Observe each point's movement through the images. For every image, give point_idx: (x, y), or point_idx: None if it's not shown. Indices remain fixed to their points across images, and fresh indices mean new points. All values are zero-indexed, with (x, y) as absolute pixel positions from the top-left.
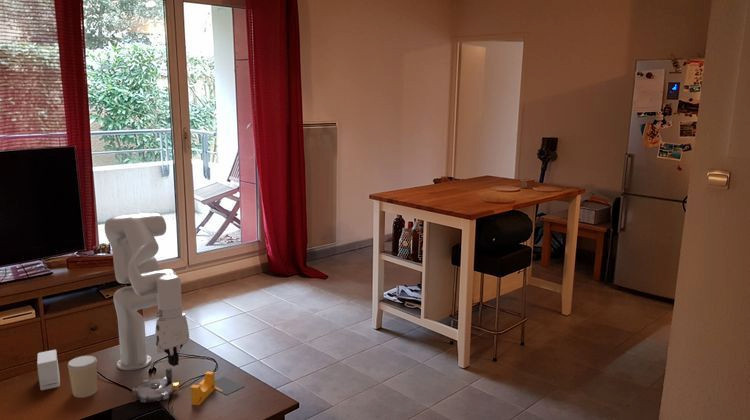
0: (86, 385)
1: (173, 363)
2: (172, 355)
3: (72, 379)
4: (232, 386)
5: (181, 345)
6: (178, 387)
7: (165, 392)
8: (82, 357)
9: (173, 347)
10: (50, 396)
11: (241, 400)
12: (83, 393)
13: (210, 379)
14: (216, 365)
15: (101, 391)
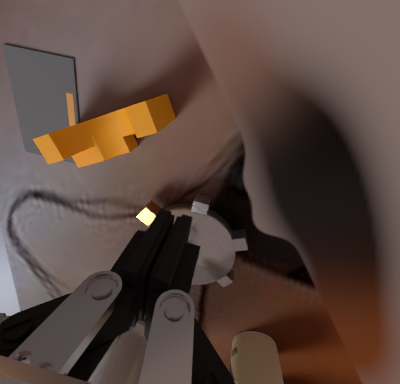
0: (269, 361)
1: (188, 232)
2: (169, 288)
3: None
4: (32, 83)
5: (16, 328)
6: (149, 203)
7: (195, 210)
8: None
9: (99, 358)
10: (291, 374)
11: None
12: (272, 346)
13: (67, 130)
14: (16, 206)
15: (237, 325)
